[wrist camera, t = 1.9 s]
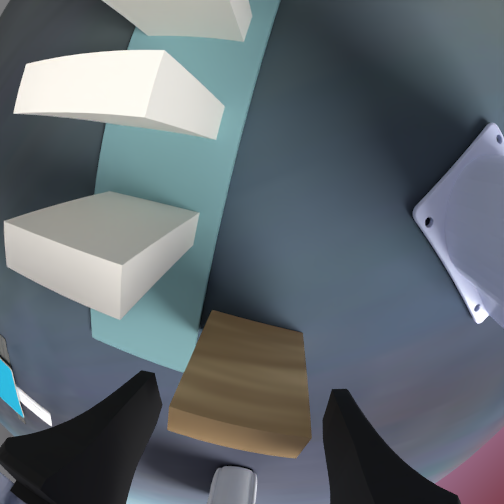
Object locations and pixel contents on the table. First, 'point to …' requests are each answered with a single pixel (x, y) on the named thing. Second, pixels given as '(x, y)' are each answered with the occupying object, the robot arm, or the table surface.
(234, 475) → the photo printer
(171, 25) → the cream domino
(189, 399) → the ochre domino
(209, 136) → the cream domino
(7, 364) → the phone stand
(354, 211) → the table surface
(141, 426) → the robot arm
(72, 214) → the cream domino
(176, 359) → the teal mat
